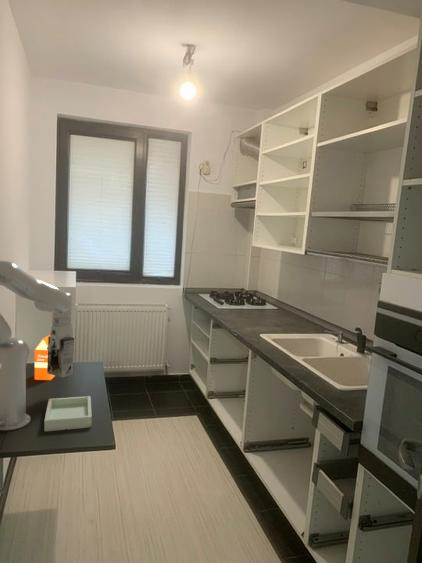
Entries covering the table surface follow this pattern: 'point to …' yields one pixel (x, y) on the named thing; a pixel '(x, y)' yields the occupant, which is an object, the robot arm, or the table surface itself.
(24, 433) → the table surface
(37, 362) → the orange juice
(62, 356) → the coffee box
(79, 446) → the table surface
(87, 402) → the tray
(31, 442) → the table surface
